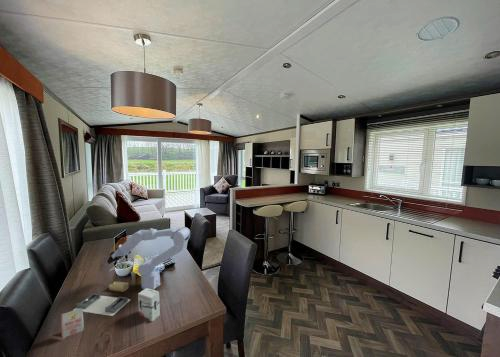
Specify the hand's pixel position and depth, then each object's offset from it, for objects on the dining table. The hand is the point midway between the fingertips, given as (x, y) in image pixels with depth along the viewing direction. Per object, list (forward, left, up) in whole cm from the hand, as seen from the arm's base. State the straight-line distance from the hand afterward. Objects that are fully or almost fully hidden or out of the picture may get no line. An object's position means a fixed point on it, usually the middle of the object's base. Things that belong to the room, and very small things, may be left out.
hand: (113, 259), depth 125 cm
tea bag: (-11, +35, -15) cm, 40 cm away
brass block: (-7, +5, -15) cm, 17 cm away
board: (-9, +18, -15) cm, 25 cm away
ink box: (-36, +20, -15) cm, 44 cm away
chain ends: (-9, +18, -14) cm, 25 cm away
